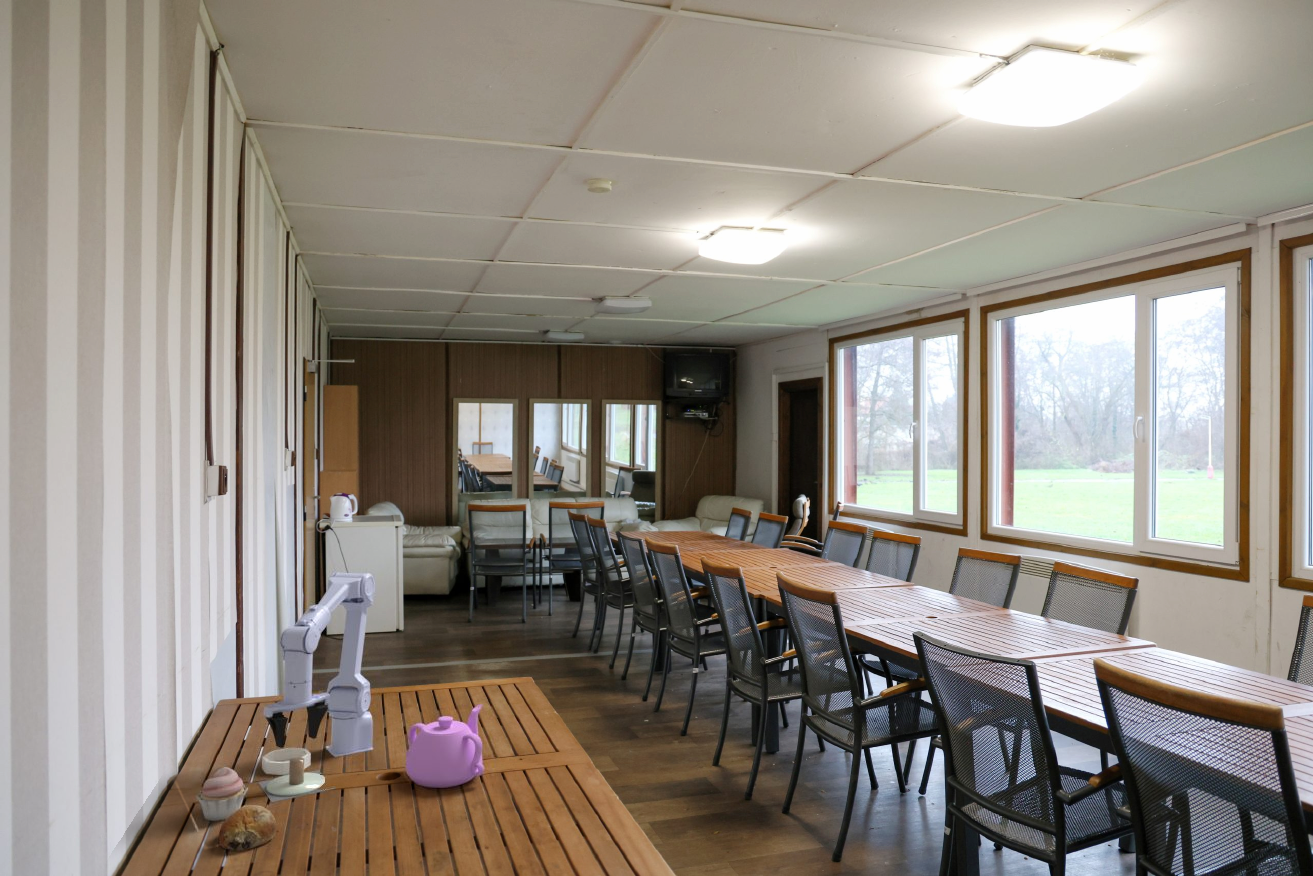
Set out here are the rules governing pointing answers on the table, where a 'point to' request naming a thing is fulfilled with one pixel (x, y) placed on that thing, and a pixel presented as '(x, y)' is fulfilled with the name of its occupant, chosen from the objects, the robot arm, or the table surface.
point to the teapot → (445, 752)
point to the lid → (295, 781)
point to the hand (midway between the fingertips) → (296, 742)
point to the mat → (278, 798)
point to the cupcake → (222, 794)
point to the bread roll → (247, 828)
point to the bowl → (284, 760)
